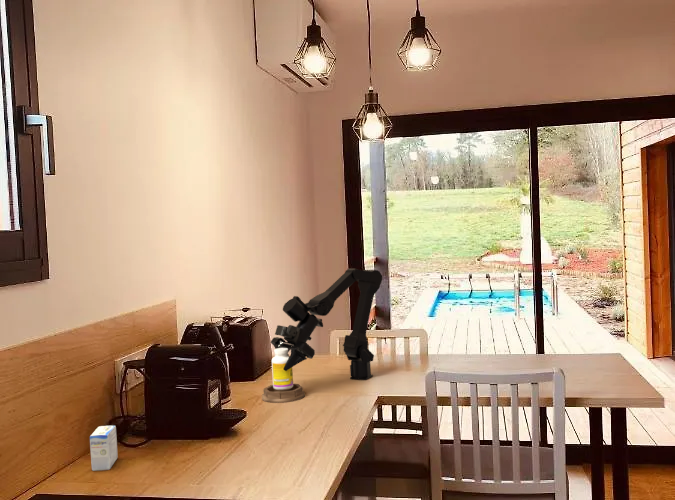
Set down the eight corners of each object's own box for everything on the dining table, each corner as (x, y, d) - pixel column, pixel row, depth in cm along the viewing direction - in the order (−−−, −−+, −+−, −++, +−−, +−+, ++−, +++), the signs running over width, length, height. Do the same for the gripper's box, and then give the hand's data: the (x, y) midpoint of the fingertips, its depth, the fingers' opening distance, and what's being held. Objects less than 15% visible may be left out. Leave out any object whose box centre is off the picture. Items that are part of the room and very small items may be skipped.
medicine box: (100, 460, 170) (97, 426, 170) (118, 458, 170) (115, 424, 170) (91, 471, 162) (88, 435, 162) (110, 469, 163) (107, 434, 162)
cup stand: (312, 392, 225) (311, 383, 225) (291, 404, 212) (291, 394, 212) (275, 390, 231) (275, 381, 231) (253, 401, 218) (253, 392, 218)
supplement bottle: (294, 389, 219) (292, 350, 218) (274, 391, 218) (271, 352, 217) (292, 384, 225) (290, 346, 225) (272, 386, 224) (270, 348, 224)
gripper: (273, 313, 230) (247, 351, 224) (304, 317, 215) (278, 358, 209) (294, 332, 235) (269, 370, 229) (326, 338, 221) (300, 378, 214)
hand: (278, 368), depth 220 cm, fingers closed on supplement bottle, 6 cm apart
